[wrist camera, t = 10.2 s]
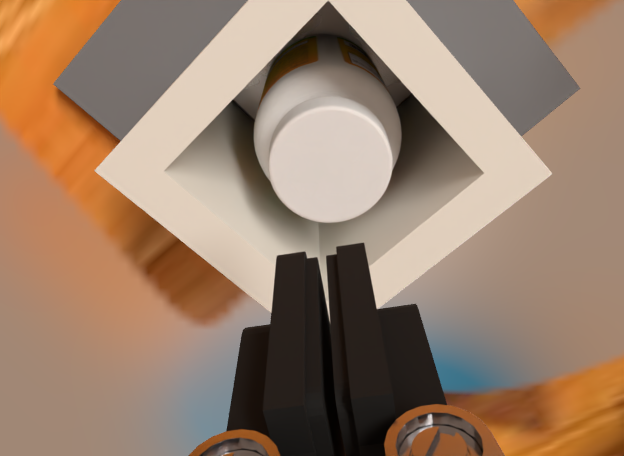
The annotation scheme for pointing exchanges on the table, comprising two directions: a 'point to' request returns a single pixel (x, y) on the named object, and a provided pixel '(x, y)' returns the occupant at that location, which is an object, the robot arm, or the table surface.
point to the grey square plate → (320, 23)
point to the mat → (180, 54)
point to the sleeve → (257, 187)
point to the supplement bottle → (327, 129)
